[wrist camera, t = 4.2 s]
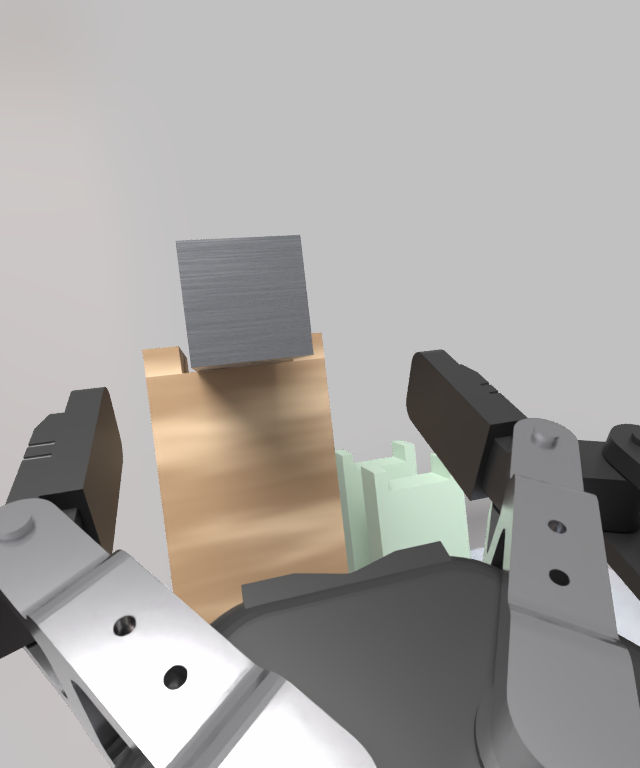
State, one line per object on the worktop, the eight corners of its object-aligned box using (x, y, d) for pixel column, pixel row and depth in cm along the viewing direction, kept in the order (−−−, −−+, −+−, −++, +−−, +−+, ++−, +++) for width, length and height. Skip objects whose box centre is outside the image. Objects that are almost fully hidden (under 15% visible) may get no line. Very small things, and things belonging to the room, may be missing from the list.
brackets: (504, 764, 36) (473, 459, 35) (407, 799, 34) (372, 477, 33) (425, 664, 48) (401, 438, 48) (351, 685, 46) (325, 450, 46)
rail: (313, 354, 14) (300, 234, 14) (191, 367, 13) (175, 241, 13) (249, 369, 35) (243, 322, 35) (201, 374, 34) (195, 326, 34)
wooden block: (396, 997, 23) (321, 332, 22) (234, 1073, 22) (142, 349, 20) (331, 792, 35) (280, 348, 34) (223, 829, 33) (164, 360, 32)
